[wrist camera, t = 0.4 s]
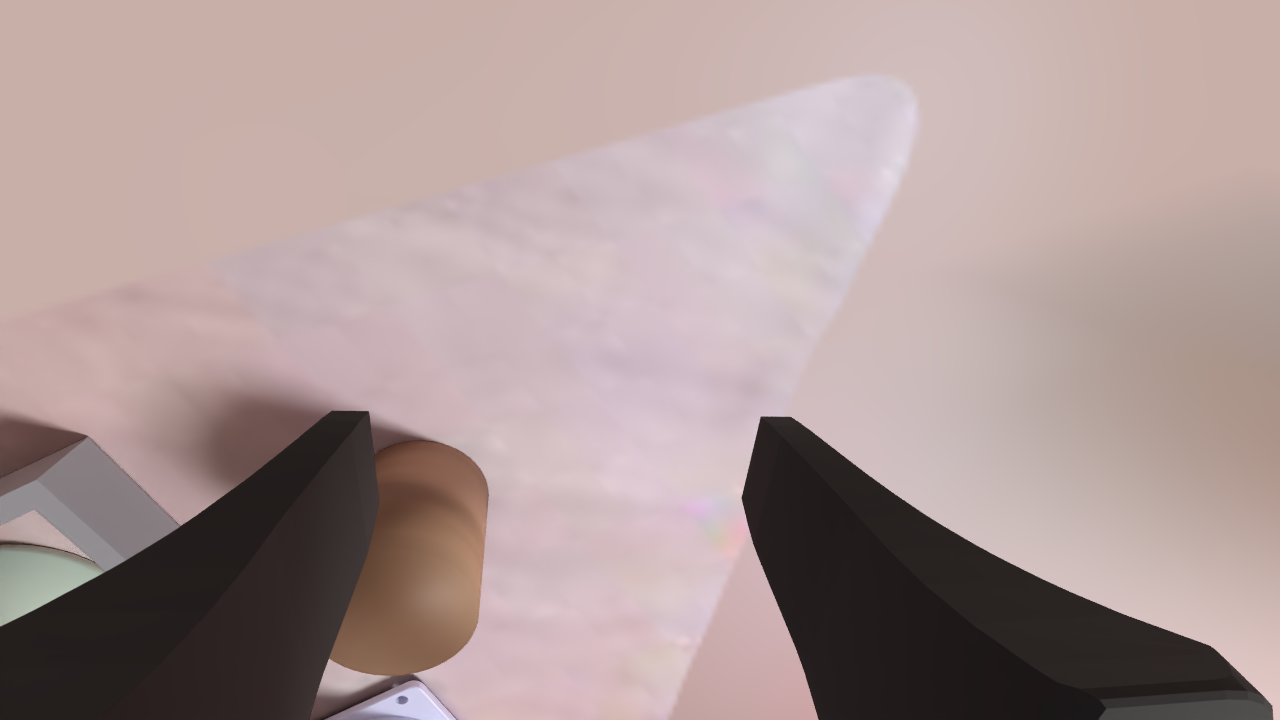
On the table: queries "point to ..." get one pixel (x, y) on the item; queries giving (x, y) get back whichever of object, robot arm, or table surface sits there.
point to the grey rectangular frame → (87, 503)
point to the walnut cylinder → (418, 563)
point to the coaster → (38, 577)
